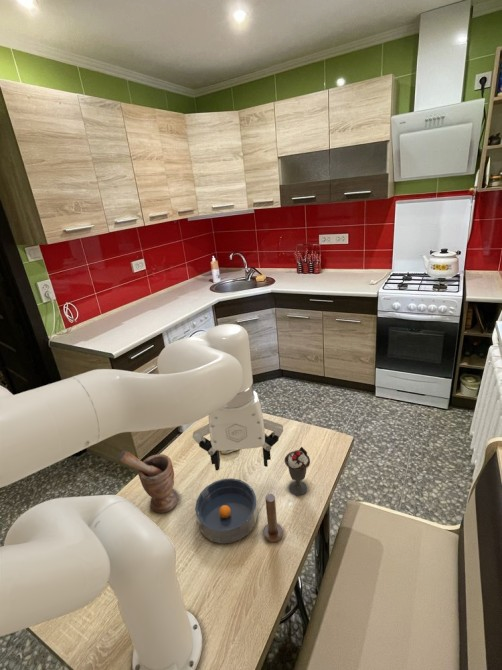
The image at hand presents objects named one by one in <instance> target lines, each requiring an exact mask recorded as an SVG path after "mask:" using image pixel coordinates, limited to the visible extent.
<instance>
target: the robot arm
mask: <svg viewBox="0 0 502 670" xmlns="http://www.w3.org/2000/svg"><path fill="white" fill-rule="evenodd" d="M156 367H157V372H158V373H146V372H145V373H144V372H137V371H130V370H123V369H115V368H114V369H112V368H97V369H92V370H89V371H86V372H83V373H79V374H77V375H73V376H70V377H68V378H64V379H61V380H58V381H55V382H52V383H48V384H46V385H42V386H39V387H36V388H32V389H28V390H26V391H25V390H24V391H22V392H20V393H16V394H13V393H12V392H11V391H10V390H9V389H8V388H7V387H4V386H3V385H1V384H0V489H1V488H3V487H6V486H9V485H11V484H14V483H17V482H18V481H20V480H23V479H24V478H27V477H28V476H31V475H33V474H35V473H37V472H39V471H42V470H43V469H45V468H47V467H50V466H52V465H54V464H56V463H58V462H60V461H62V460H64V459H66V458H68V457H70V456H73V455H75V454H76V453H79V452H80V451H81V452H82V451H83V450H85V449H87V448H90V447H92V446H94V445H96V444H98V443H100V442H103V441H105V440H106V439H109V438H111V437H113V436H115V435H119V434H122V433H131V432H132V433H136V432H147V431H154V430H162V429H163V430H164V429H171V428H177V427H182V426H186V425H189V424H193V423H195V422H198V421H199V420H202V419H204V418H206V417H207V416H208V423H206V425H204V426H202V427H199V428H198V429H196V430H194V431H193V432H192V439H193V441H195V443H197V444H198V447H199V448H201V449H203V450H204V451H206V452H207V455H209V456H210V462H211V465H214V469H215V471H216V472H217V471H219V470H220V466H221V456H220V451H223V450H236V451H238V450H248V449H249V450H250V449H256V448H260V447H261V448H262V457H263V458H262V459H263V466H264V467H266V468H268V467H269V465H268V464H269V463H268V461H271V459H272V457H271V450H272V447H273V446H274V445H276V444H277V443H278V442H279V439H280V437H281V436H282V434H283V432H284V426H283V424H282V423H278V422H275V421H272V420H269V419H265V418H264V415H263V409H262V406H261V401H260V399H259V395H258V393H257V391H255V389H254V379H253V369H252V357H251V346H250V338H249V334H248V331H247V329H246V328H245V327H243V326H241V325H239V324H237V323H224V324H223V323H222V324H218V325H215V326H213V327H211V328H210V329H208V330H207V331H206V332H204V333H201V334H197V335H193V336H188V337H184V338H181V339H178V340H175V341H172V342H171V343H169V344H167V345H166V346H165V347H164V348H163V349H162V350H161V351H160V353H159V354H158V357H157V362H156ZM266 430H268V431H272V432H271V433H270V434H269V435H268V434H266V432H265V431H266ZM207 435H209V438H210V439H208V438H206V437H205V436H207ZM237 449H238V450H237ZM3 542H4V543H3V545H1V546H0V638H1V637H3V636H8V635H11V634H13V633H16V632H19V631H22V630H26V629H28V628H31V627H34V626H37V625H40V624H43V623H47V622H49V621H53V620H54V619H59V618H61V617H64V616H66V615H70V614H72V613H74V612H76V611H78V610H80V609H83V608H85V607H87V606H88V605H90V604H91V603H93V602H94V601H95V600H96V599H97V598H98V597H99V596H100V595H101V594H102V593H103V592H104V590H105V589H106V586H107V584H108V586H109V588H110V590H112V593H113V594H114V596H115V597H116V600H117V607H118V611H119V614H120V616H121V619H122V621H123V624H124V625H125V628H126V631H127V633H128V635H129V639H130V640H131V643H132V645H133V651H132V659H131V660H132V661H131V665H132V670H196V669H197V667H198V665H199V662H200V660H201V656H202V651H203V635H202V629H201V627H200V624H199V622H198V620H197V618H196V617H195V616H194V615H193V614H192V612H190V611H189V610H187V608H186V604H185V600H184V597H183V593H182V590H181V589H182V588H181V587H180V584H179V580H178V579H179V578H178V575H177V569H176V568H177V565H176V564H177V553H176V547H175V546H174V543H173V542H172V540H171V539H170V537H169V536H168V535H167V534H166V533H165V532H164V531H163V530H162V528H161V527H160V526H159V525H157V524H156V523H155V522H154V521H153V520H152V519H151V518H150V517H149V516H148V515H146V514H145V513H144V512H143V511H142V510H140V508H139V507H137V506H136V504H134V503H133V502H132V501H131V500H130V499H128V498H126V497H124V496H122V495H118V494H100V495H99V494H98V495H83V496H82V495H81V496H69V497H67V496H65V497H58V498H52V499H48V500H45V501H43V502H40V503H38V504H36V505H33V506H32V507H30V508H29V509H28V510H26V511H25V512H23V513H22V514H21V515H20V516H19V517H18V518H17V519H16V520H15V521H14V522H13V523H12V525H11V526H10V527H9V529H8V531H7V533H6V536H5V539H4V541H3Z"/></svg>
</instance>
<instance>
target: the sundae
mask: <svg viewBox="0 0 502 670" xmlns="http://www.w3.org/2000/svg"><path fill="white" fill-rule="evenodd" d="M284 463H285V466H286V467H287V468H288V473H289V476H290V478H291V480H293V481H292V482H290V483H289V486H288V489H289V492H290V493H291V494H292V495H294V496H303V495H305V494H306V493H307V491H308V486H307V484H306V483H305V482H304V481H303V480H305V477H306V474H307V469H308V468H309V467H310V465H311V459H310V456H309V455H308V452H307V450H305V448H304V447H303V446H300V448H299V449H296V450H293V451H291V452H288V453H287V455H286V456H285V457H284Z"/></svg>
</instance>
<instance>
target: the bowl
mask: <svg viewBox="0 0 502 670" xmlns="http://www.w3.org/2000/svg"><path fill="white" fill-rule="evenodd" d="M256 495H257V494H256V493H255V491H254V488H252V487H251V485H250V484H248V483H247V482H245V481H243V480H241V479H237V478H221V479H219V480H215V481H213V482H212V483H210V484H208V485H207V486H206V487H205V488H204V489H203V490H201V492H200V493H199V495H198V497H197V499H196V501H195V506H194V507H195V509H194V510H195V515H196V519H197V524H198V529H199V530H200V532H201V533H202V535H203V537H205V538H206V539H207V540H210V541H211V542H213V543H218V544H232V543H236V542H238V541H241V540H242V539H243V538H245V537H246V536H247V535H249V534H250V533H251V531H253V529H254V528H255V525H256V524H257V520H258V517H259V516H258V502H257V501H258V500H257V496H256ZM223 505H227V506H228V507H229V508H230V510H231V514H230V516H229V517H228V518H225V519H224V518H221V517H220V515H219V509H220V508H221V507H222V506H223Z"/></svg>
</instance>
